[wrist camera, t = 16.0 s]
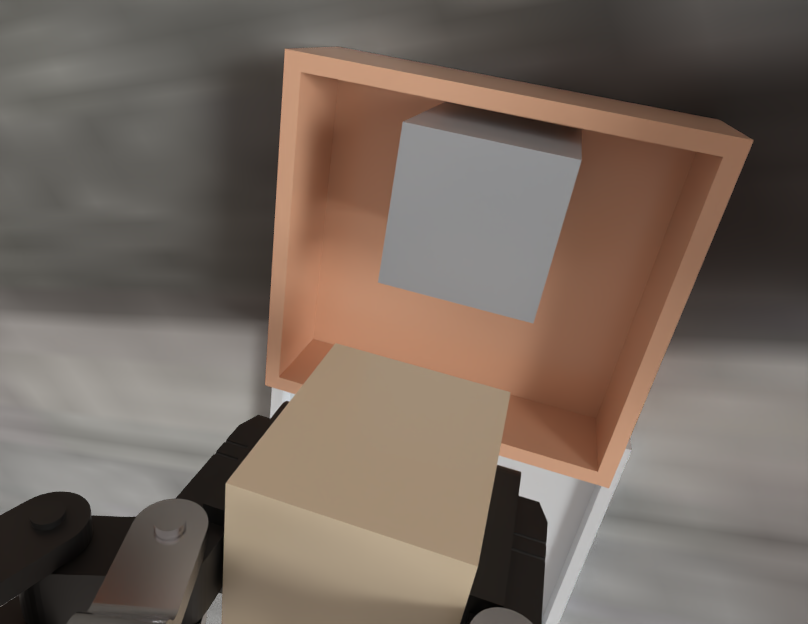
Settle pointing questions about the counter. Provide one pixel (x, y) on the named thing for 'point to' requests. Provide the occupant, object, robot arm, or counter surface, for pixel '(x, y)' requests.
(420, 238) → the grey stacked cube
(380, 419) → the beige wooden cube
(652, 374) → the dish
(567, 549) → the tray
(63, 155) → the counter surface
